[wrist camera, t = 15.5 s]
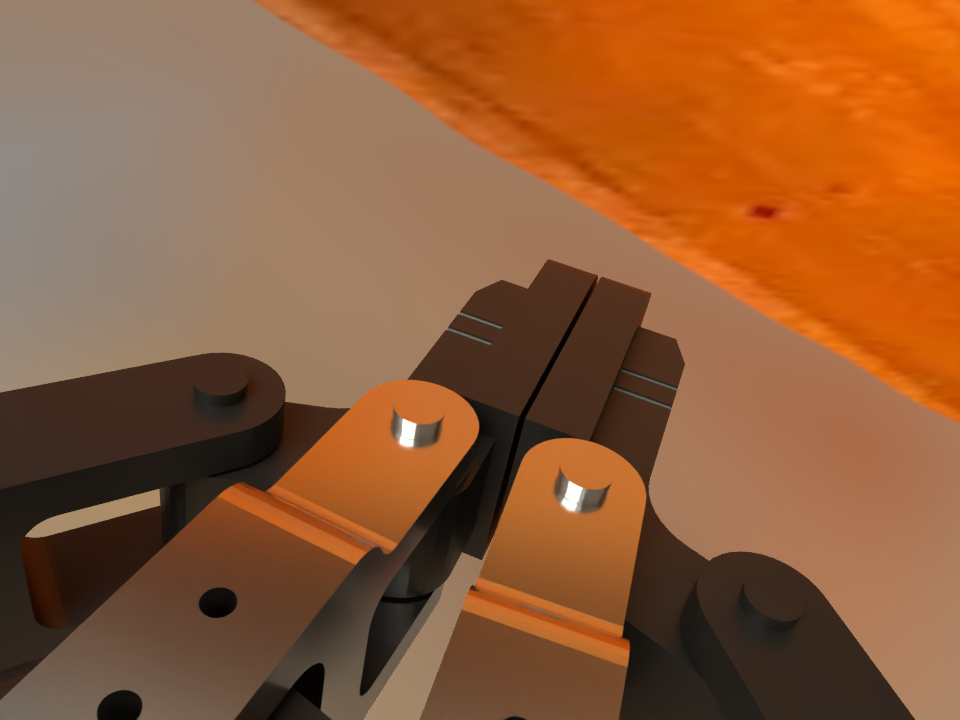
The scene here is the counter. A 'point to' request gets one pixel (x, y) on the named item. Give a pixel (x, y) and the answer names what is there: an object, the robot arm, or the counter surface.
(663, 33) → the counter surface
